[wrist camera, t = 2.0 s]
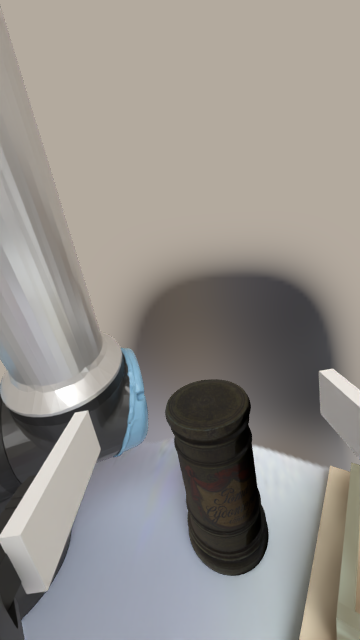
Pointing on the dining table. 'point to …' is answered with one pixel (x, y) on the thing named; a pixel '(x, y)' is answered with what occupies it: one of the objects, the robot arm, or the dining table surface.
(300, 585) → the dining table surface
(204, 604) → the dining table surface
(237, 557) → the container
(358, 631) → the collar board
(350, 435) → the robot arm
